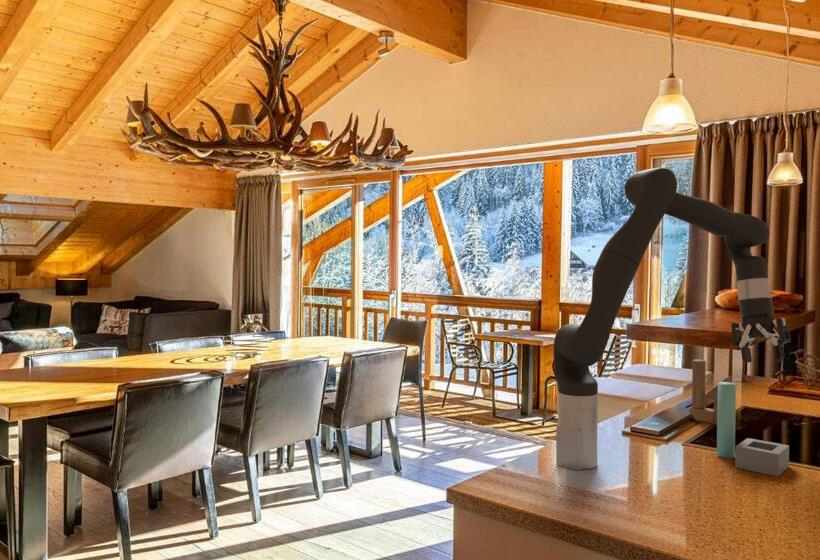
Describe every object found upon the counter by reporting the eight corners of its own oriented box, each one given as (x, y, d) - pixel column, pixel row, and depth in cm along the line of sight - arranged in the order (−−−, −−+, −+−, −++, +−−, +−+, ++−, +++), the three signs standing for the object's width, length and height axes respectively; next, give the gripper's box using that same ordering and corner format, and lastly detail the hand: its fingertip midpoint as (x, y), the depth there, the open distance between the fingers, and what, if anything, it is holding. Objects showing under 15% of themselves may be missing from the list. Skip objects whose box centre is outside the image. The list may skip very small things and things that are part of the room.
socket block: (778, 476, 146) (778, 454, 146) (735, 467, 152) (735, 446, 152) (788, 466, 153) (789, 445, 152) (747, 458, 159) (747, 438, 159)
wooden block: (725, 426, 187) (726, 364, 186) (688, 419, 195) (689, 360, 194) (731, 424, 189) (732, 363, 189) (694, 417, 197) (695, 358, 197)
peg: (731, 459, 158) (732, 386, 157) (714, 455, 161) (715, 383, 160) (736, 455, 161) (738, 383, 160) (719, 452, 164) (721, 381, 163)
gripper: (720, 301, 170) (728, 363, 168) (771, 294, 157) (780, 361, 155) (739, 300, 173) (747, 362, 171) (791, 294, 160) (800, 360, 158)
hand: (763, 361), depth 163 cm, fingers open, 8 cm apart
